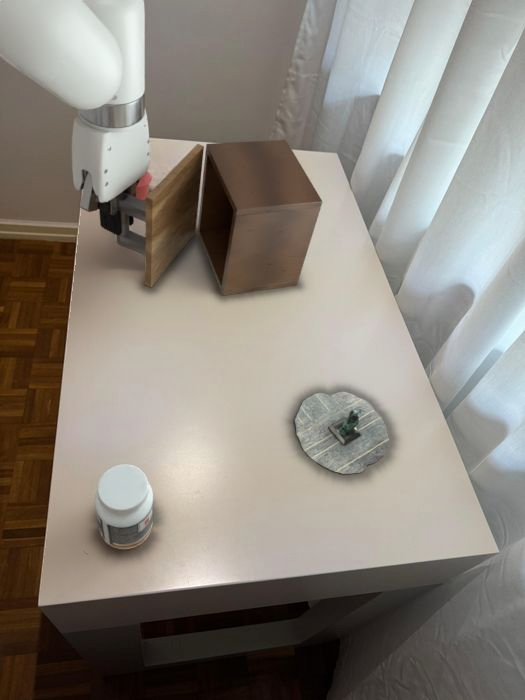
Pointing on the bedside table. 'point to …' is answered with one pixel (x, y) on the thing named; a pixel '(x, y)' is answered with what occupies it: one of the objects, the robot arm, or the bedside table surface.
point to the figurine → (143, 186)
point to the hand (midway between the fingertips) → (117, 224)
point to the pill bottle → (124, 506)
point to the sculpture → (341, 432)
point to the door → (164, 216)
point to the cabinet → (256, 215)
